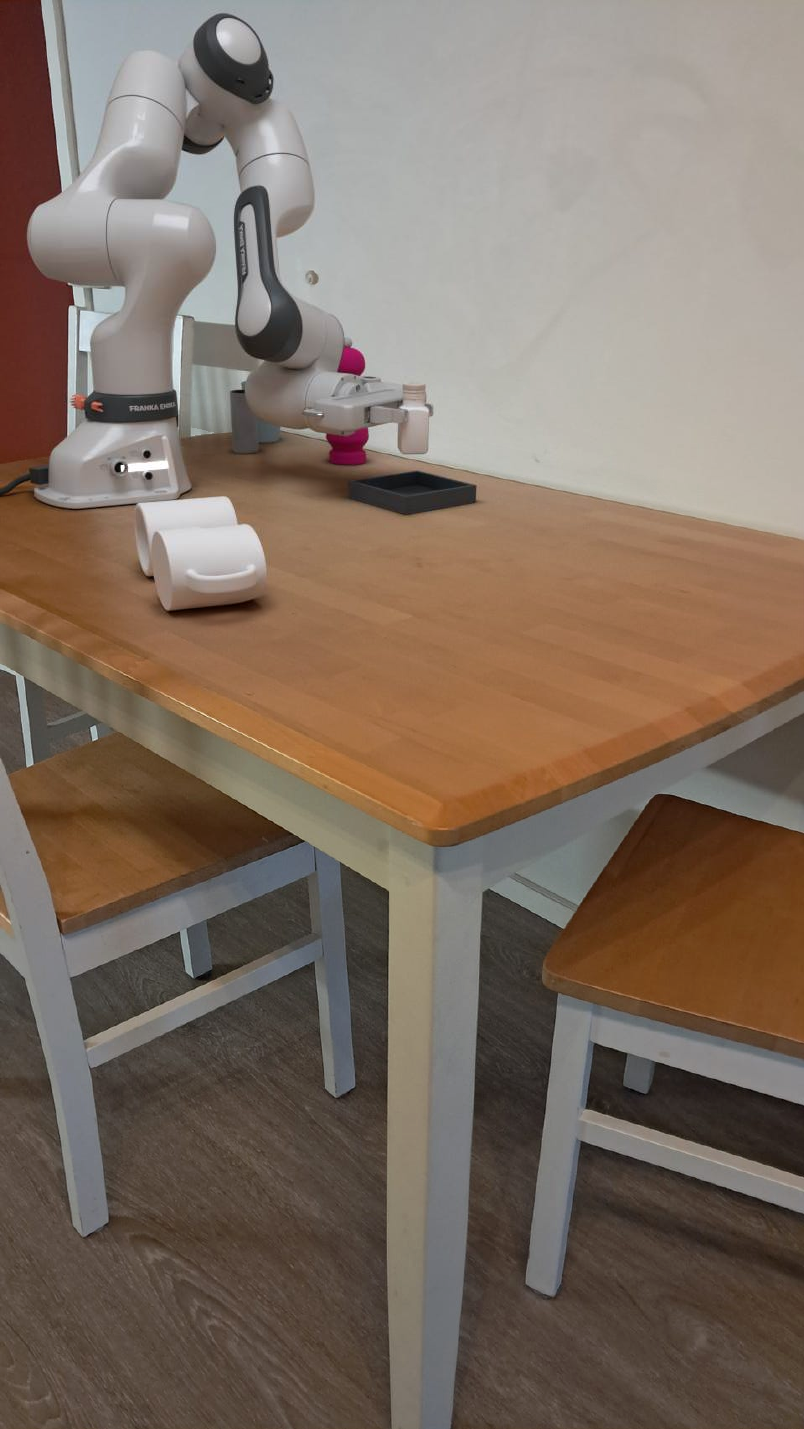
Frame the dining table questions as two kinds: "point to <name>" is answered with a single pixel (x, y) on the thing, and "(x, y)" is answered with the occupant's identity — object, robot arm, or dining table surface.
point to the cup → (266, 429)
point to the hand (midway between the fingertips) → (418, 413)
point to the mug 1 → (177, 520)
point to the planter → (243, 424)
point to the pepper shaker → (414, 420)
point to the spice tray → (412, 492)
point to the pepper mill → (351, 446)
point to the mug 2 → (208, 566)
